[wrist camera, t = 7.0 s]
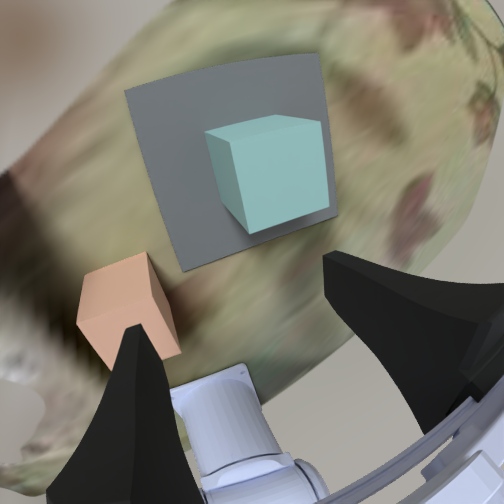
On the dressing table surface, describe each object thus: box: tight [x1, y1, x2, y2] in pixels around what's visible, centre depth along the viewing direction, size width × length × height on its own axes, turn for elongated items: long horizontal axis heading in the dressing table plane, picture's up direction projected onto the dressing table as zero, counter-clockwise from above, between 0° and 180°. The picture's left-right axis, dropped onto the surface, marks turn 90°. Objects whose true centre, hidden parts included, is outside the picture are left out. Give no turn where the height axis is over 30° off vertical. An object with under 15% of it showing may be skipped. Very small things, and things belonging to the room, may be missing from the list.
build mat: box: [125, 53, 338, 272], centre depth 18 cm, size 12×12×1 cm
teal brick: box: [205, 115, 329, 234], centre depth 16 cm, size 4×4×5 cm
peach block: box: [76, 251, 181, 371], centre depth 17 cm, size 4×4×5 cm
